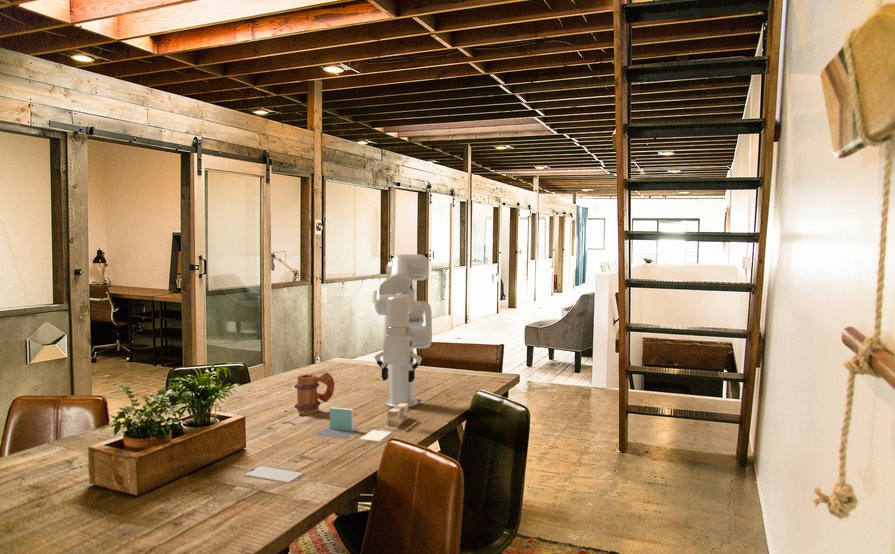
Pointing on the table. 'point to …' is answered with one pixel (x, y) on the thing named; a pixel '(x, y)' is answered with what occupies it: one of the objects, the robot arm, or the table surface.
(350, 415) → the tile
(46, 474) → the table surface
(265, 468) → the smartphone
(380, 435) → the pad
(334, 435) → the mat
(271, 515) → the table surface
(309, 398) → the mug
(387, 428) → the beige piece
